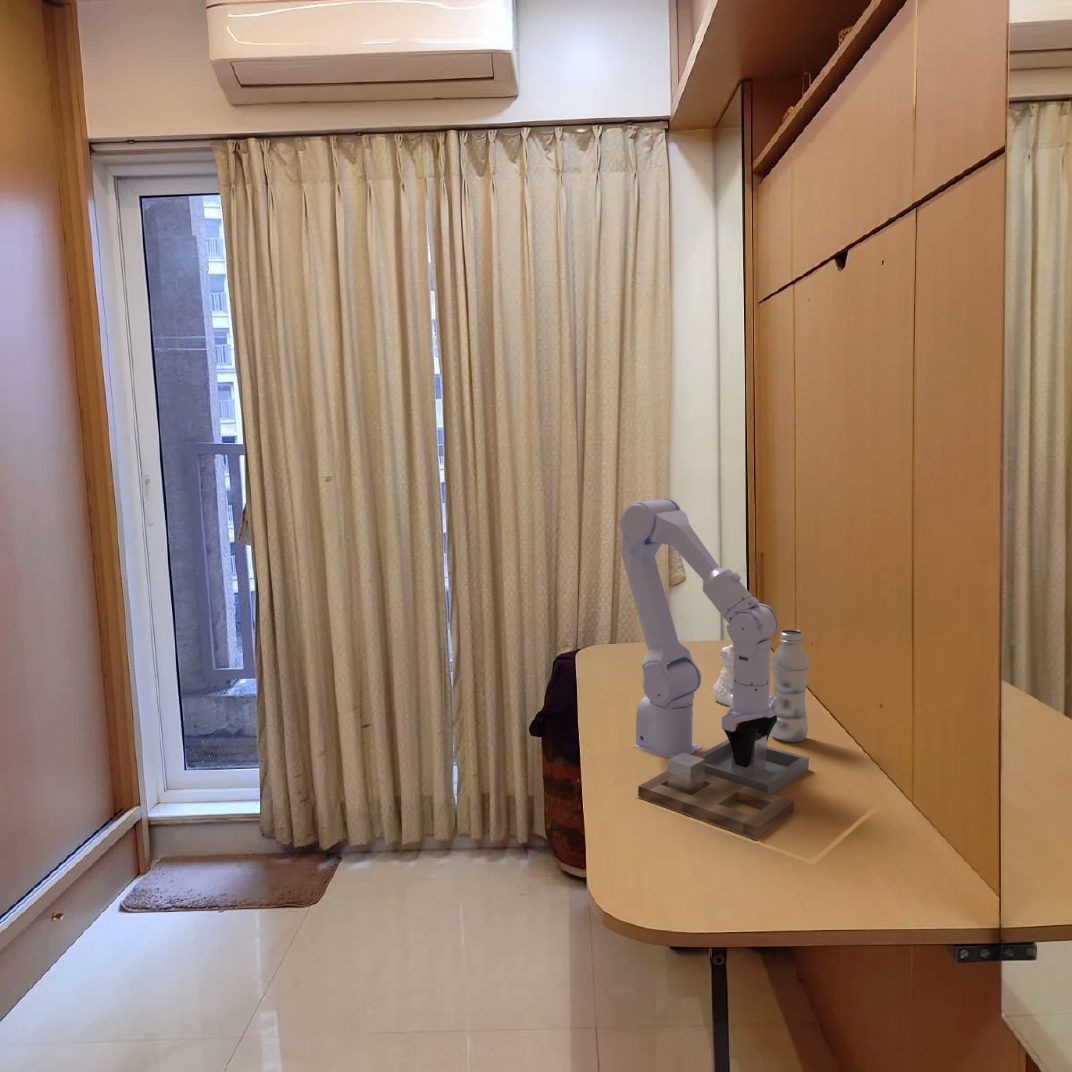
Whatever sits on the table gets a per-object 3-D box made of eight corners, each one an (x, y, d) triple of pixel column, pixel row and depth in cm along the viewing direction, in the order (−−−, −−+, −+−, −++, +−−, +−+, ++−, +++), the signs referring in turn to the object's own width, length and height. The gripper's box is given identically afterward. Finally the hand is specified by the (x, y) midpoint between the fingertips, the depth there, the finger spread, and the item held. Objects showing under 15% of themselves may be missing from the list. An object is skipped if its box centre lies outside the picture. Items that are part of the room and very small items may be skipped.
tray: (688, 775, 138) (688, 760, 138) (732, 750, 148) (732, 736, 148) (767, 800, 129) (767, 784, 128) (808, 772, 139) (808, 757, 138)
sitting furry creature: (748, 712, 168) (750, 653, 166) (705, 706, 171) (707, 648, 170) (759, 698, 176) (760, 642, 174) (717, 693, 180) (719, 637, 178)
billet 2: (731, 771, 138) (732, 735, 137) (743, 763, 141) (744, 729, 140) (753, 777, 136) (754, 742, 135) (765, 770, 138) (766, 735, 138)
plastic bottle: (809, 748, 149) (813, 637, 146) (769, 745, 150) (773, 635, 148) (805, 735, 155) (809, 628, 153) (767, 732, 157) (770, 626, 154)
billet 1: (667, 797, 130) (668, 759, 129) (681, 788, 133) (682, 752, 132) (689, 804, 127) (690, 766, 127) (704, 796, 130) (704, 759, 130)
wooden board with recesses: (638, 798, 130) (638, 786, 129) (678, 776, 138) (678, 764, 137) (757, 841, 116) (757, 827, 116) (793, 813, 124) (794, 801, 124)
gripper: (751, 696, 128) (749, 782, 130) (795, 675, 139) (792, 754, 141) (710, 687, 133) (709, 769, 135) (755, 667, 144) (753, 744, 145)
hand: (748, 761), depth 138 cm, fingers closed on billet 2, 4 cm apart
